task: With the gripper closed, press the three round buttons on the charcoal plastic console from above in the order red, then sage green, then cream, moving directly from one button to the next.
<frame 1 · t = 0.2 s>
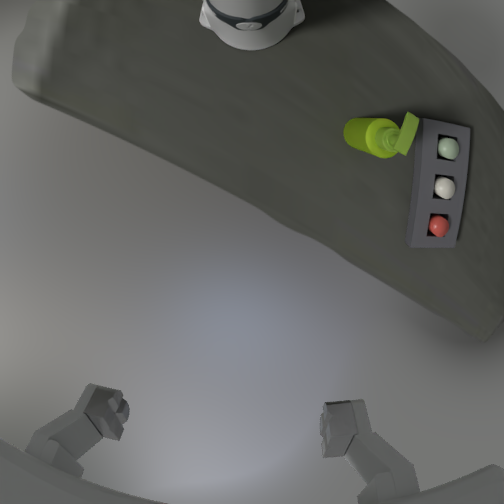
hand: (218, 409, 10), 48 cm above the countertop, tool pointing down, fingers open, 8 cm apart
button cream: (443, 187, 49), point 3 cm above the countertop, slide at 0.0 cm
button sage: (447, 147, 45), point 3 cm above the countertop, slide at 0.0 cm
button red: (438, 225, 52), point 3 cm above the countertop, slide at 0.0 cm
soap dispenser: (359, 130, 49), on the countertop
console: (436, 183, 51), on the countertop
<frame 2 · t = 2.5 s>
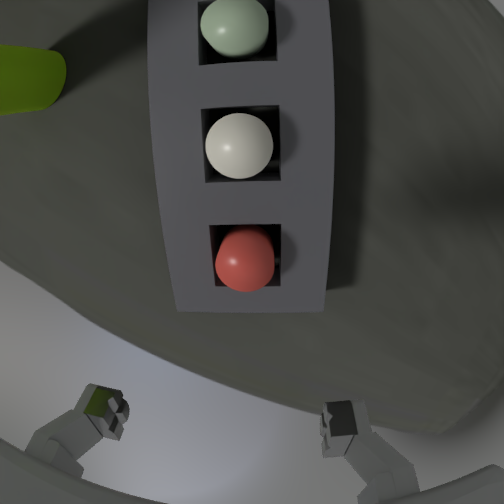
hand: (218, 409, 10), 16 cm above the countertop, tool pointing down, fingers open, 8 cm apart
button cream: (241, 143, 18), point 3 cm above the countertop, slide at 0.0 cm
button sage: (236, 28, 15), point 3 cm above the countertop, slide at 0.0 cm
button red: (246, 257, 22), point 3 cm above the countertop, slide at 0.0 cm
soap dispenser: (46, 75, 18), on the countertop
console: (244, 140, 21), on the countertop
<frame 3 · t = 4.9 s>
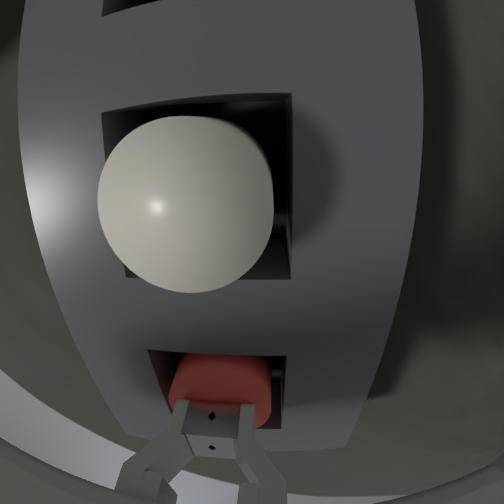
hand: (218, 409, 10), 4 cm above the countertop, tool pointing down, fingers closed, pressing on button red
button cream: (194, 194, 7), point 3 cm above the countertop, slide at 0.0 cm
button red: (223, 381, 12), point 2 cm above the countertop, slide at 0.9 cm, touching gripper
console: (214, 173, 10), on the countertop
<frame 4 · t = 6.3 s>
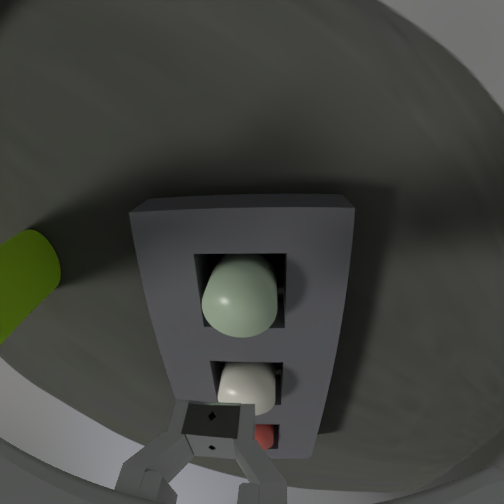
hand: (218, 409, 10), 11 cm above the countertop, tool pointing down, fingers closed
button cream: (247, 385, 20), point 3 cm above the countertop, slide at 0.0 cm
button sage: (241, 293, 17), point 3 cm above the countertop, slide at 0.0 cm
button red: (252, 429, 24), point 2 cm above the countertop, slide at 0.9 cm
soap dispenser: (38, 254, 21), on the countertop
console: (250, 357, 23), on the countertop
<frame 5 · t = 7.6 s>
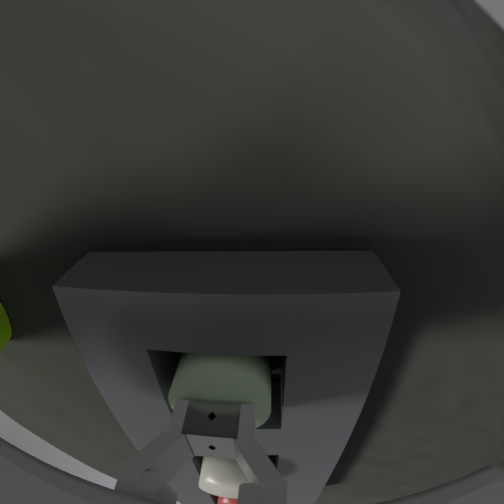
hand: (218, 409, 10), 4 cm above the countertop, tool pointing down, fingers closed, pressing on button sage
button cream: (235, 469, 14), point 3 cm above the countertop, slide at 0.0 cm
button sage: (223, 380, 12), point 2 cm above the countertop, slide at 0.9 cm, touching gripper
button red: (243, 492, 18), point 2 cm above the countertop, slide at 0.9 cm
console: (239, 431, 17), on the countertop
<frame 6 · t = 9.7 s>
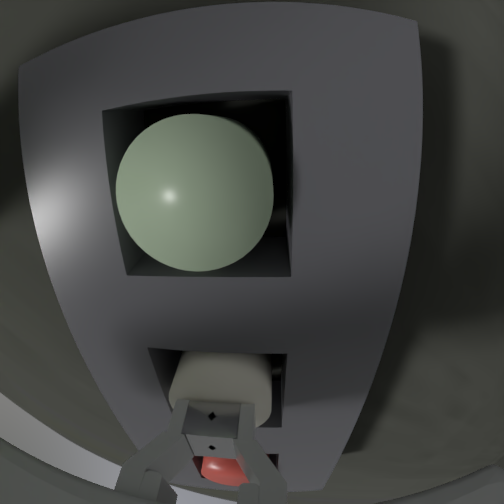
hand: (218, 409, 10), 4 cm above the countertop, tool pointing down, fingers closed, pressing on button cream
button cream: (223, 379, 12), point 2 cm above the countertop, slide at 0.9 cm, touching gripper
button sage: (202, 184, 8), point 2 cm above the countertop, slide at 0.9 cm
button red: (236, 456, 15), point 2 cm above the countertop, slide at 0.9 cm
console: (229, 346, 14), on the countertop
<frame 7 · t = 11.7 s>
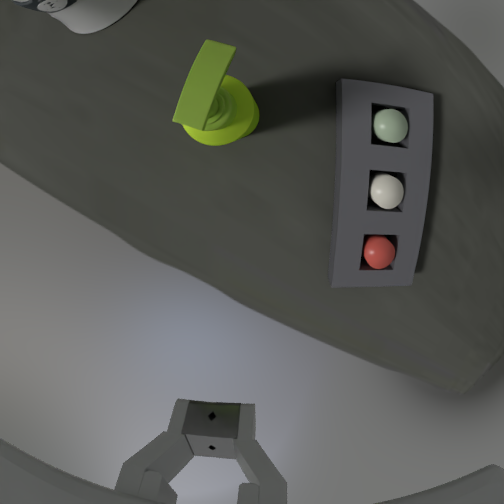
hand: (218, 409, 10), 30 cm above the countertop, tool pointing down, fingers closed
button cream: (384, 189, 33), point 2 cm above the countertop, slide at 0.9 cm
button sage: (388, 125, 30), point 2 cm above the countertop, slide at 0.9 cm
button red: (377, 249, 37), point 2 cm above the countertop, slide at 0.9 cm
soap dispenser: (236, 111, 33), on the countertop
console: (378, 186, 35), on the countertop
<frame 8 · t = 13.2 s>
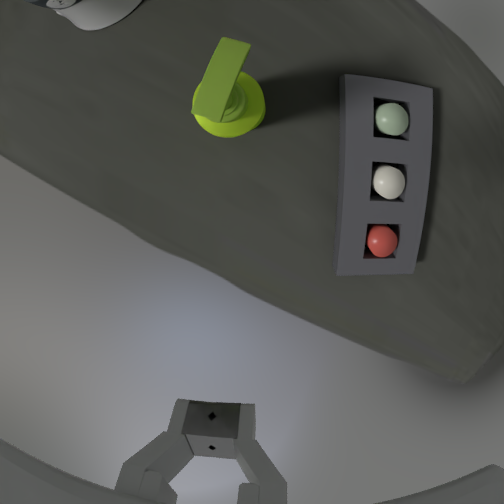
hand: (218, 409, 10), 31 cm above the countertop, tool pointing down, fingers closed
button cream: (386, 180, 34), point 2 cm above the countertop, slide at 0.9 cm
button sage: (389, 118, 31), point 2 cm above the countertop, slide at 0.9 cm
button red: (380, 239, 38), point 2 cm above the countertop, slide at 0.9 cm
soap dispenser: (243, 105, 34), on the countertop
console: (381, 177, 36), on the countertop
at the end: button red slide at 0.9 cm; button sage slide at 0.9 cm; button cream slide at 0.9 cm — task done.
